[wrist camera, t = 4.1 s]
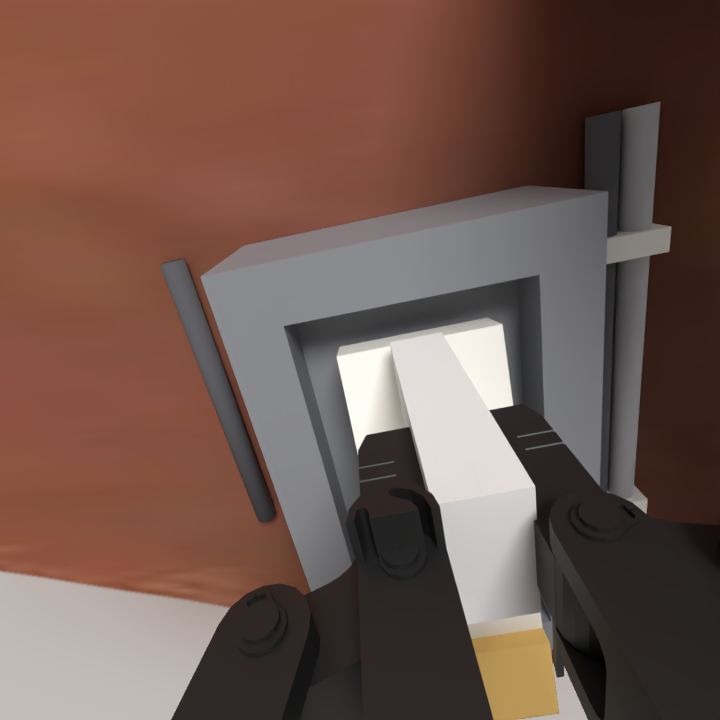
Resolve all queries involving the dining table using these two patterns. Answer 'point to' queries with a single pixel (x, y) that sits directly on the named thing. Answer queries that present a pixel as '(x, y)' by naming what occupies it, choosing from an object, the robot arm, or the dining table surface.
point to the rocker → (384, 413)
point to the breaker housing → (406, 315)
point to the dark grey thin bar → (217, 384)
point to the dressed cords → (625, 276)
